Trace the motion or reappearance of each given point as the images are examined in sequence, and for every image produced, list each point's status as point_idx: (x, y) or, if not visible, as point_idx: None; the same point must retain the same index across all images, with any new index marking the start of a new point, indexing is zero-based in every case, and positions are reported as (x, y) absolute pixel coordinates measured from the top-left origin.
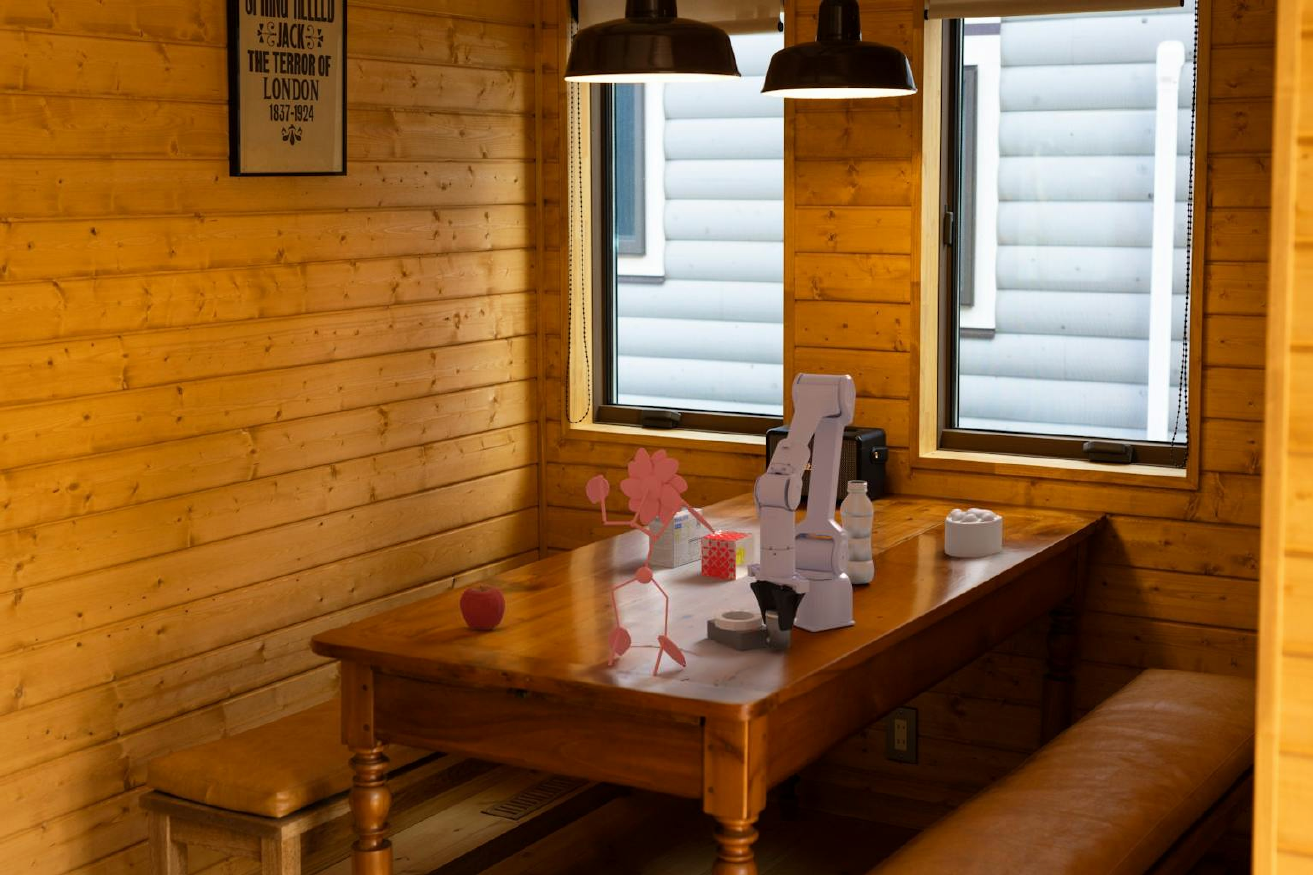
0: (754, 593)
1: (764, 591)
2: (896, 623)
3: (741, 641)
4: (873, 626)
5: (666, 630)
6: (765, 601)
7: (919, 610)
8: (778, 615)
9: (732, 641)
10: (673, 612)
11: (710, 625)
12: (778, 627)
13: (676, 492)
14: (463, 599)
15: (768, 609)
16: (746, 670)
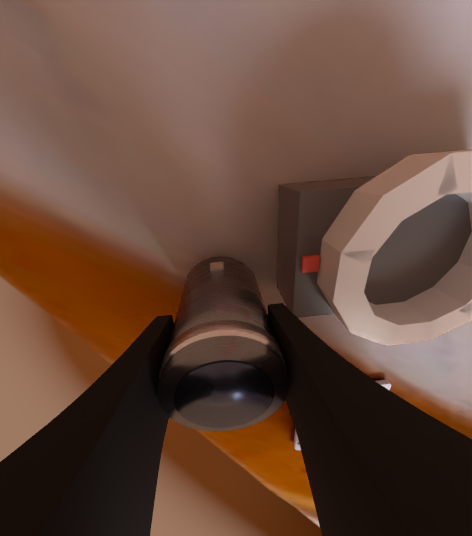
0: (435, 424)
1: (354, 505)
2: (265, 475)
3: (289, 192)
4: (271, 455)
5: None
6: (311, 403)
7: (297, 499)
8: (135, 362)
9: (336, 182)
10: None
11: None
12: (176, 319)
13: None
14: None
15: (260, 365)
16: (30, 50)
